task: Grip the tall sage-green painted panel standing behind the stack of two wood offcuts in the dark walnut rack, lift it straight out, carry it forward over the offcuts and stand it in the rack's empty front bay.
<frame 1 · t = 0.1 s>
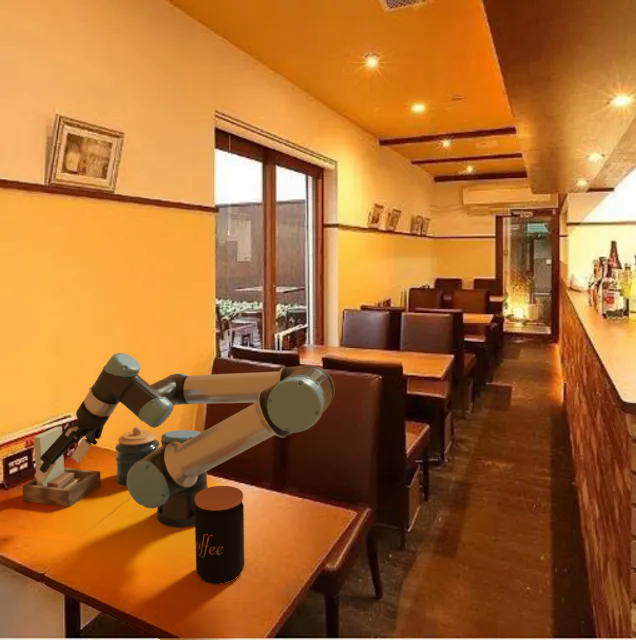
hand: (58, 468, 143), 15 cm above the table, tool tilted 35°, fingers open, 13 cm apart
offcut top: (61, 486, 159), point 4 cm above the table, touching offcut bottom
offcut bottom: (63, 493, 160), point 1 cm above the table, touching offcut top, rack
panel: (51, 491, 161), point 1 cm above the table, touching rack
canister: (139, 482, 172), on the table
coffee jar: (220, 572, 124), on the table
rack: (63, 498, 160), on the table
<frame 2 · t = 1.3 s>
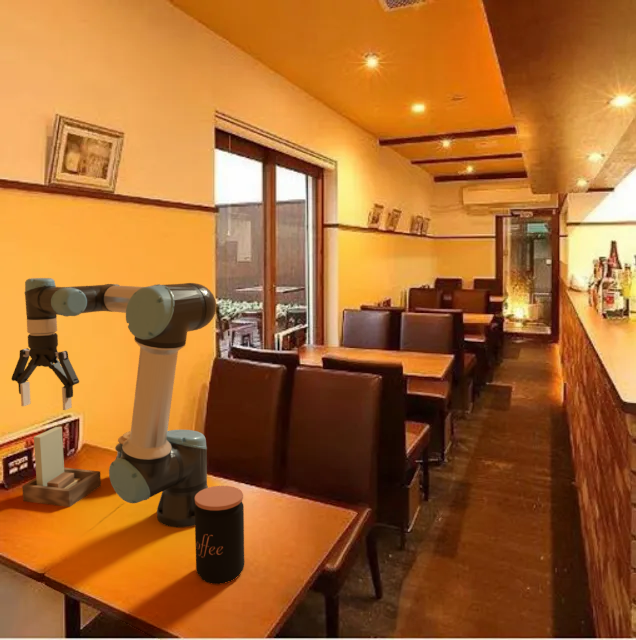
hand: (46, 407, 157), 27 cm above the table, tool pointing down, fingers open, 13 cm apart
nothing on the table moved.
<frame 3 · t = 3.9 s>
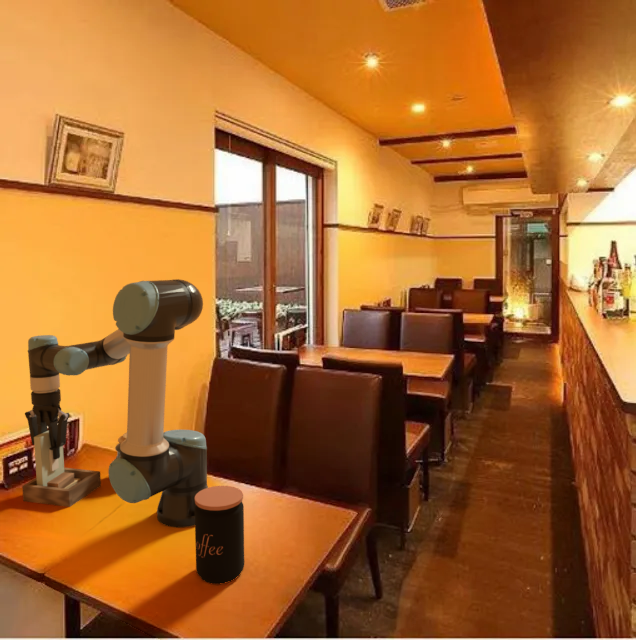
hand: (50, 468, 160), 8 cm above the table, tool pointing down, fingers closed on panel, 2 cm apart
panel: (51, 491, 161), point 2 cm above the table, touching gripper
everything else where it was.
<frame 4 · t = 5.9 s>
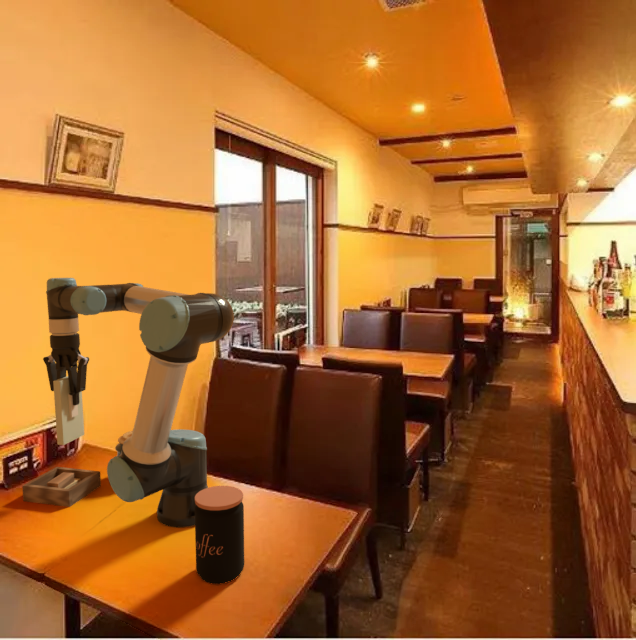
hand: (69, 415, 156), 25 cm above the table, tool pointing down, fingers closed on panel, 2 cm apart
panel: (71, 439, 157), point 18 cm above the table, touching gripper
everything else where it was.
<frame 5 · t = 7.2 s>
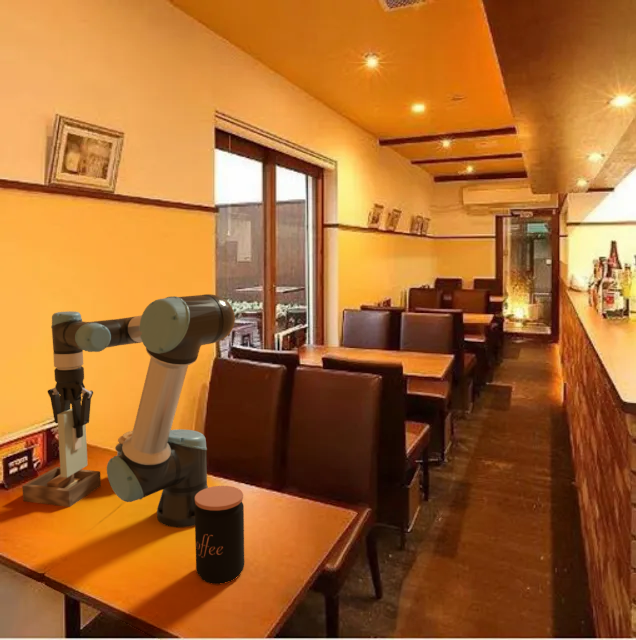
hand: (73, 447, 157), 16 cm above the table, tool pointing down, fingers closed on panel, 2 cm apart
panel: (74, 471, 158), point 9 cm above the table, touching gripper
everything else where it was.
when the fingers open (10 cm above the table, at t = 8.2 s): panel drops 1 cm, resting on rack.
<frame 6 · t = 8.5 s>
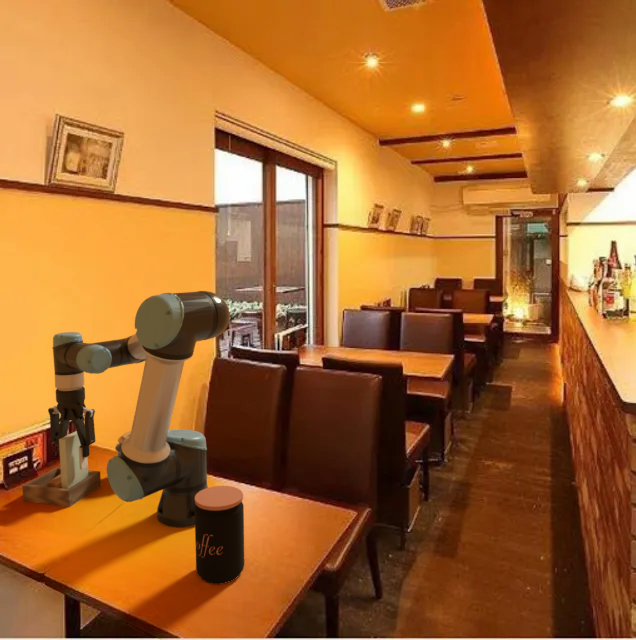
hand: (74, 466, 158), 10 cm above the table, tool pointing down, fingers open, 5 cm apart
panel: (76, 494, 159), point 1 cm above the table, touching rack
everything else where it was.
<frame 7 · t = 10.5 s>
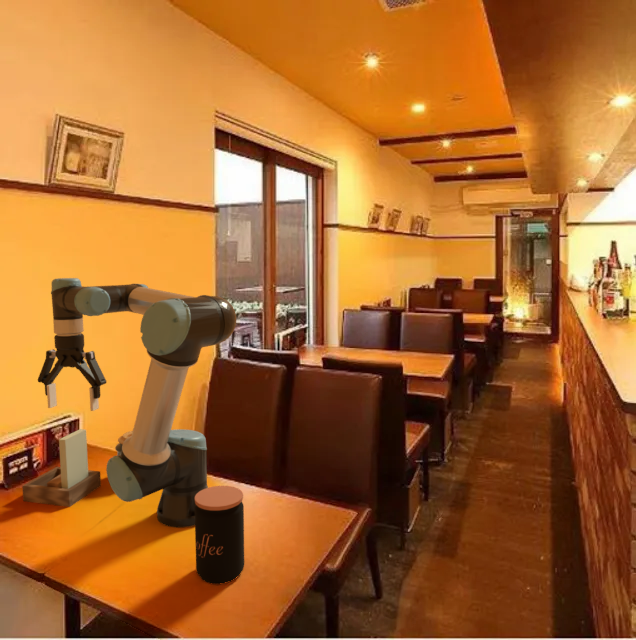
hand: (73, 408, 156), 27 cm above the table, tool pointing down, fingers open, 13 cm apart
nothing on the table moved.
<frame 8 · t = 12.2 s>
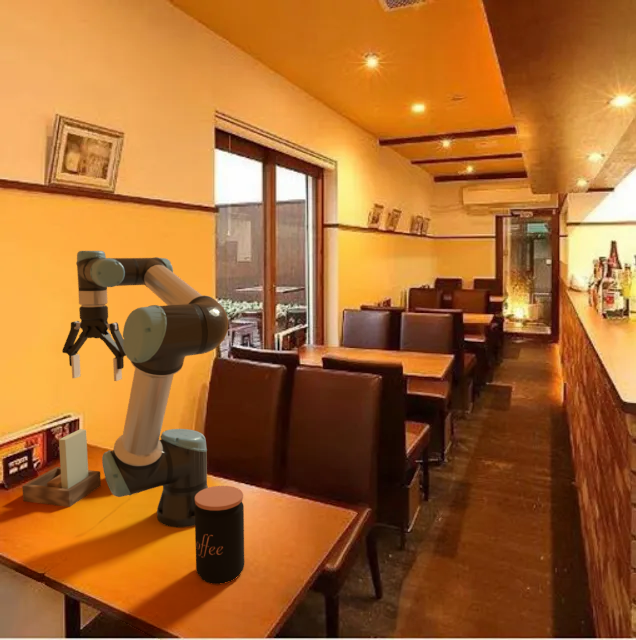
hand: (97, 378, 159), 35 cm above the table, tool pointing down, fingers open, 13 cm apart
nothing on the table moved.
at the end: panel 0.2 cm from the target spot on the rack, point 1.5 cm above the rack's base; panel tilted 0°; the gripper is holding nothing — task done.
